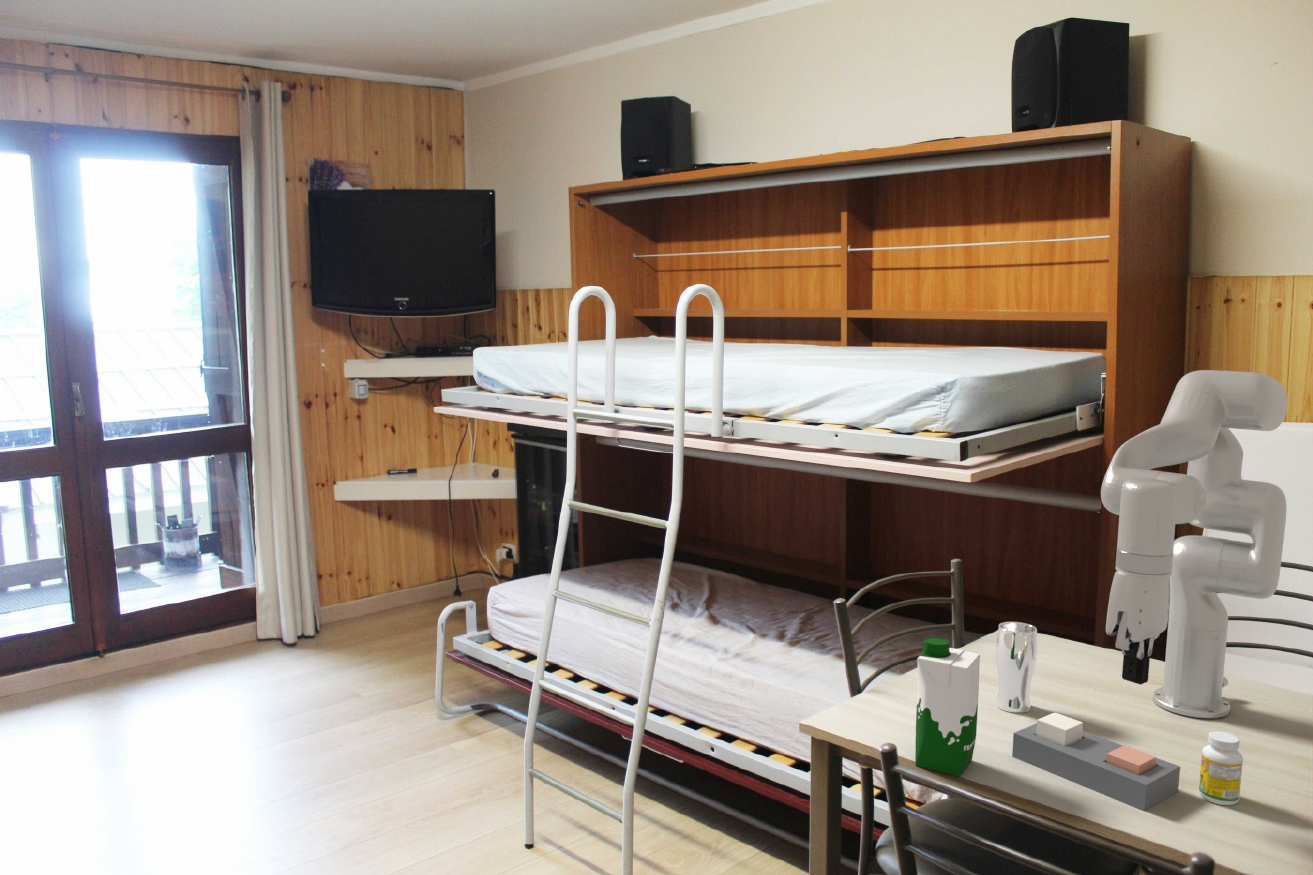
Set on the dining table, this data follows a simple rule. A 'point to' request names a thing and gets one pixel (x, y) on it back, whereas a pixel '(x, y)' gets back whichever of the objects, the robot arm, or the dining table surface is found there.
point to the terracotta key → (1131, 760)
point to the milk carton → (946, 707)
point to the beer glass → (1015, 665)
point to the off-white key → (1059, 729)
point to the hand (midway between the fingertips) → (1134, 680)
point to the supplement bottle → (1221, 769)
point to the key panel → (1097, 768)
